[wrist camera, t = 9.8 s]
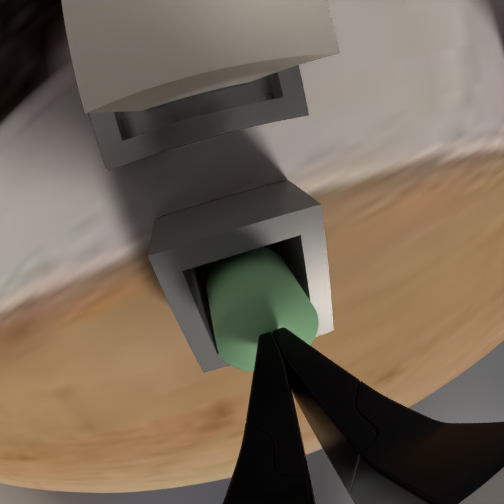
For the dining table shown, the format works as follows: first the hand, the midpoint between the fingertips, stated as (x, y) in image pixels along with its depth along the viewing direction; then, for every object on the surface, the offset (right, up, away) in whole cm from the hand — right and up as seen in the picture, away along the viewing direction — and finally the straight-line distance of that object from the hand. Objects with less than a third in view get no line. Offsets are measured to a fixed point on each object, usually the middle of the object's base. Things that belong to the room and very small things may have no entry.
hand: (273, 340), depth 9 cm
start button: (-1, +2, +3) cm, 3 cm away
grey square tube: (-1, +3, +5) cm, 6 cm away
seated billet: (-3, +10, 0) cm, 11 cm away
